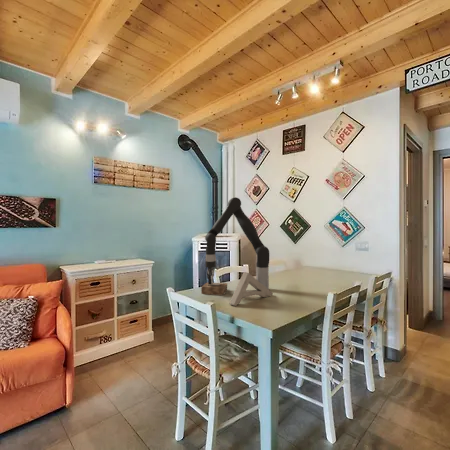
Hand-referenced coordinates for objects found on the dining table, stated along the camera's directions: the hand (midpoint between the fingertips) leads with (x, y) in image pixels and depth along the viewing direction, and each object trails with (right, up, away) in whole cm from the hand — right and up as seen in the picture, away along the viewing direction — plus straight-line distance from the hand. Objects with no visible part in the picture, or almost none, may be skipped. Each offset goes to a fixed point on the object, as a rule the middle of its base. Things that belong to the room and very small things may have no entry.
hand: (210, 283), depth 203 cm
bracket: (+3, -3, -1) cm, 4 cm away
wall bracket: (+29, -7, -22) cm, 37 cm away
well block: (+3, -6, -1) cm, 7 cm away
